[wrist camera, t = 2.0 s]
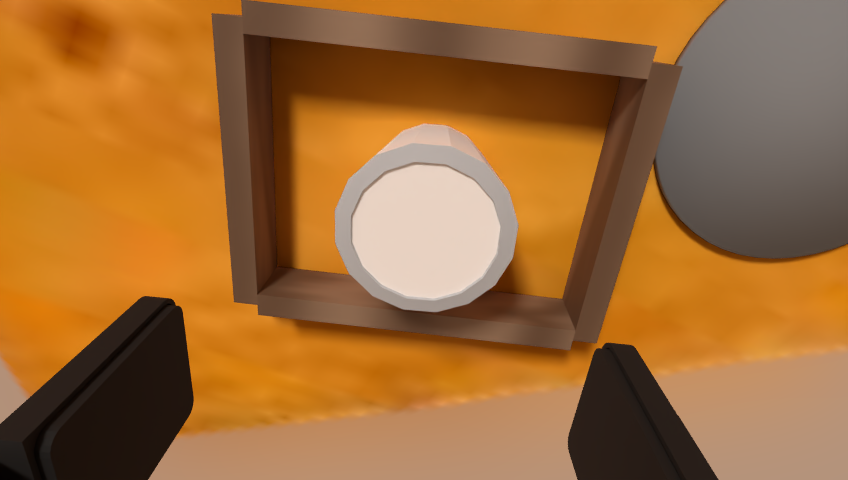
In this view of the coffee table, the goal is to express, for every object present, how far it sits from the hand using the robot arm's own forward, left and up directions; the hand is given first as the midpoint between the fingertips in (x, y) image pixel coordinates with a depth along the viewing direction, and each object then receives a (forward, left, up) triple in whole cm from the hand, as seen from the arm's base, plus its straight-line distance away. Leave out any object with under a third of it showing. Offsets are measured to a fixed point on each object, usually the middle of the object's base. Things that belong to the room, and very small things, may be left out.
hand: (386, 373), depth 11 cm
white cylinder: (-1, 0, -15) cm, 15 cm away
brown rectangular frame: (-1, 0, -14) cm, 14 cm away
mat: (-18, -5, -14) cm, 23 cm away
